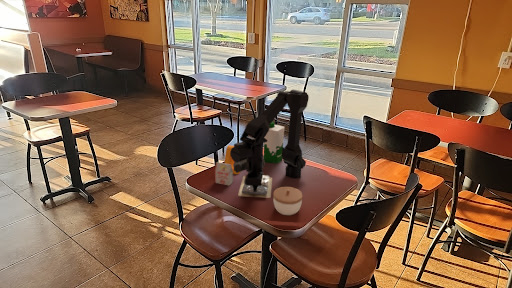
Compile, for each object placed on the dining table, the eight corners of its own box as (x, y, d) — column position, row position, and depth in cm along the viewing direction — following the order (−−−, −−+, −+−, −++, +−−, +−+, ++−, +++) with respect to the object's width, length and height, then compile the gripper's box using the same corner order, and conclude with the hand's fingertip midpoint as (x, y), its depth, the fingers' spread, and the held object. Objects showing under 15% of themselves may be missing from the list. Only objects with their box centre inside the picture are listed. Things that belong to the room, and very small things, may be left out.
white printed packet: (218, 181, 143) (218, 160, 140) (233, 183, 141) (232, 162, 137) (215, 184, 140) (214, 163, 136) (229, 187, 138) (229, 166, 134)
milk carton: (269, 156, 169) (270, 119, 161) (284, 160, 164) (286, 122, 157) (260, 162, 162) (261, 123, 154) (276, 166, 157) (278, 127, 150)
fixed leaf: (268, 177, 145) (269, 172, 144) (267, 188, 136) (267, 183, 135) (246, 176, 146) (246, 171, 145) (243, 186, 137) (244, 181, 136)
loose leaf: (268, 185, 138) (268, 181, 137) (266, 194, 129) (267, 189, 128) (244, 184, 139) (244, 179, 138) (241, 192, 129) (241, 188, 129)
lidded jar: (271, 218, 118) (272, 196, 114) (273, 202, 128) (274, 181, 124) (301, 221, 116) (302, 198, 113) (301, 205, 126) (303, 183, 123)
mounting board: (272, 179, 145) (272, 177, 145) (270, 199, 129) (270, 197, 129) (243, 178, 146) (243, 176, 146) (238, 198, 130) (238, 195, 130)
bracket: (238, 176, 148) (238, 152, 143) (223, 173, 150) (223, 149, 145) (247, 166, 157) (247, 143, 152) (233, 164, 159) (233, 141, 155)
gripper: (238, 144, 134) (238, 177, 140) (230, 163, 117) (231, 201, 123) (265, 145, 133) (264, 179, 139) (261, 165, 116) (260, 202, 122)
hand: (254, 189), depth 131 cm, fingers closed, pressing on loose leaf
